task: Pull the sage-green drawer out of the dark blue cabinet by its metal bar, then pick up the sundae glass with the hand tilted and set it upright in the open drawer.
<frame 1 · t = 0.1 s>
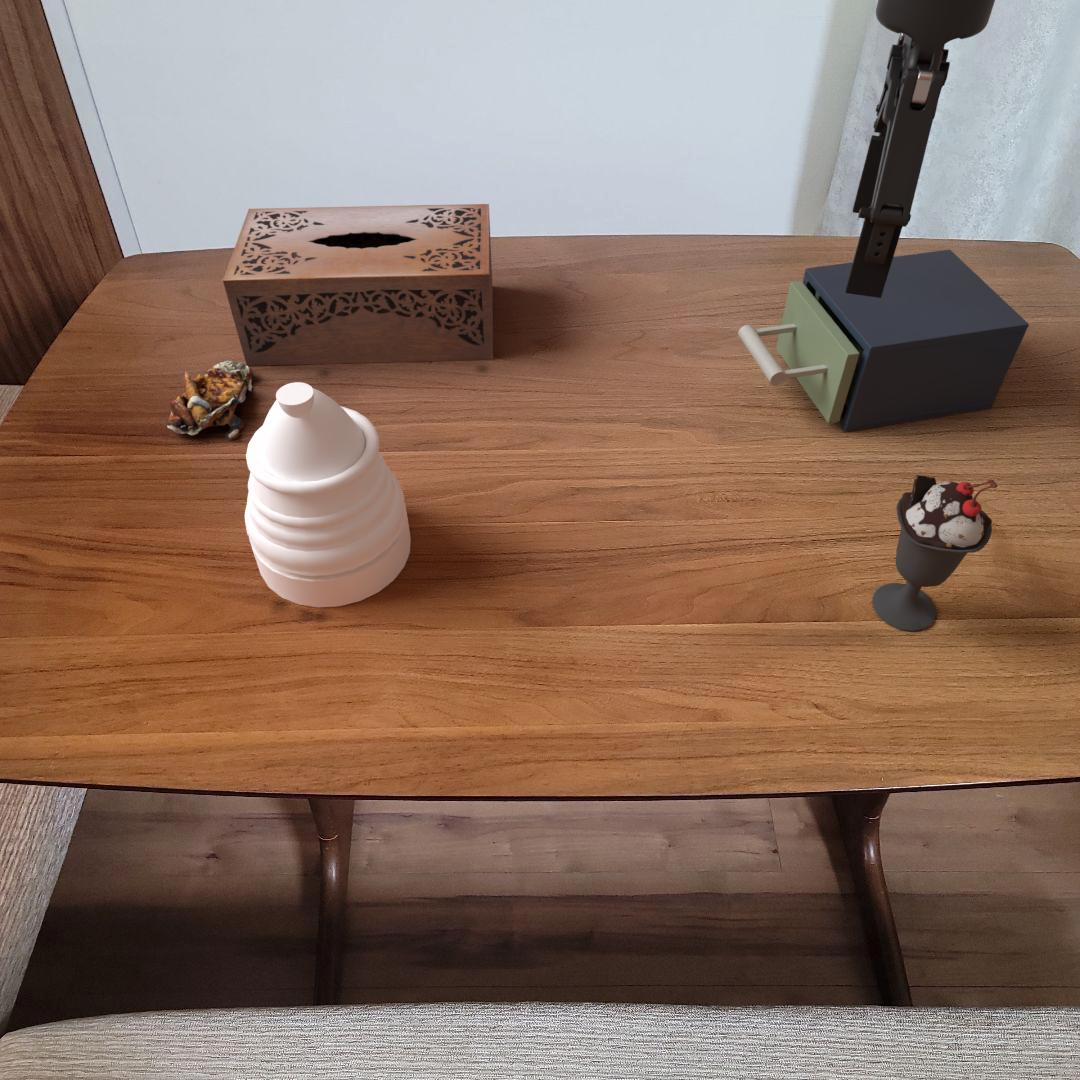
hand: (865, 250, 77), 18 cm above the table, tool pointing down, fingers open, 13 cm apart
cabinet: (885, 378, 95), on the table
tissue box cover: (376, 325, 102), on the table
honey pot: (335, 550, 79), on the table
dish of fried food: (215, 404, 93), on the table
sundae: (903, 608, 74), on the table
drawer: (850, 345, 91), point 5 cm above the table, slide at 0.5 cm
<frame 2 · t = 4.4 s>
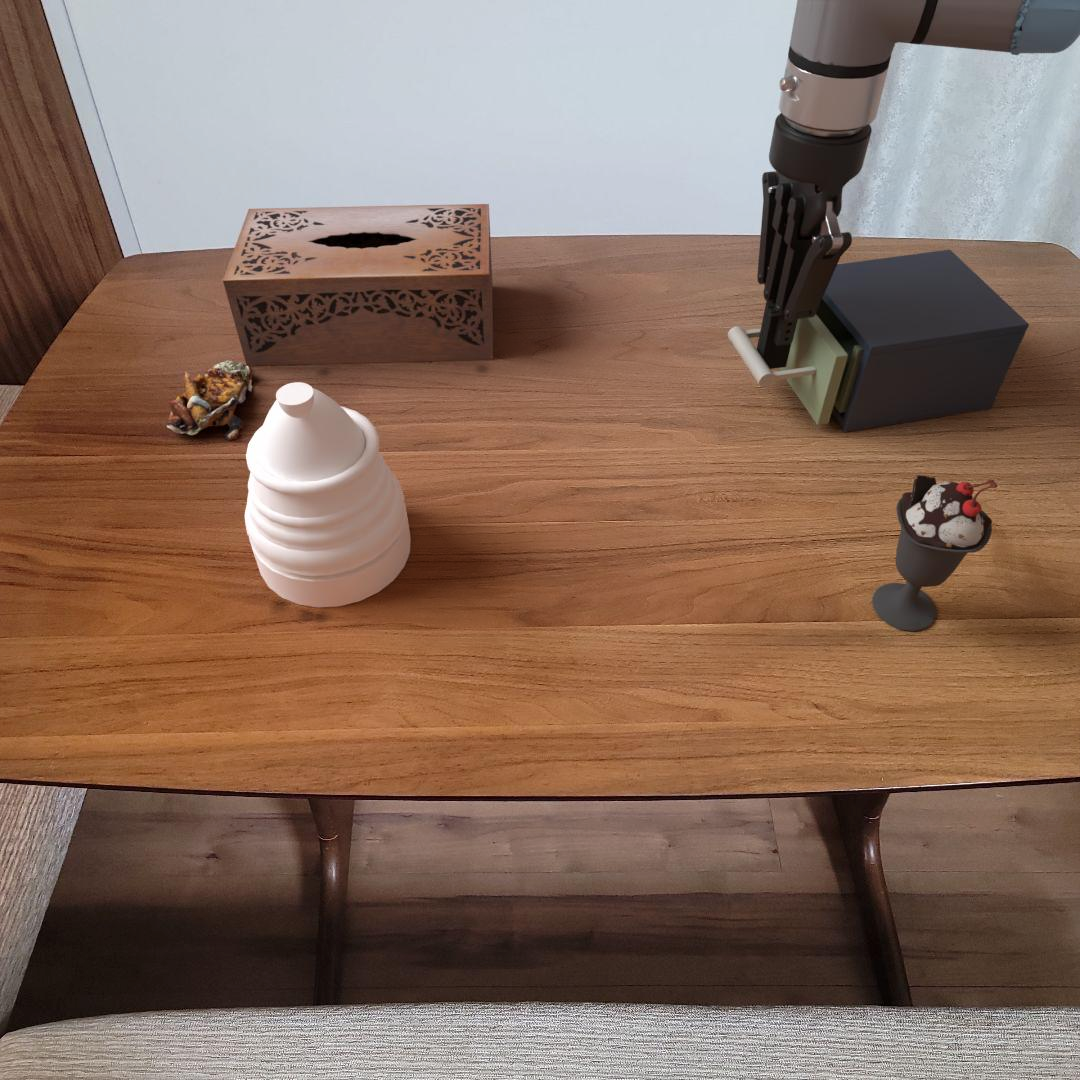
hand: (769, 364, 90), 4 cm above the table, tool pointing down, fingers closed
drawer: (839, 347, 91), point 5 cm above the table, slide at 1.6 cm, touching gripper
everything else where it was.
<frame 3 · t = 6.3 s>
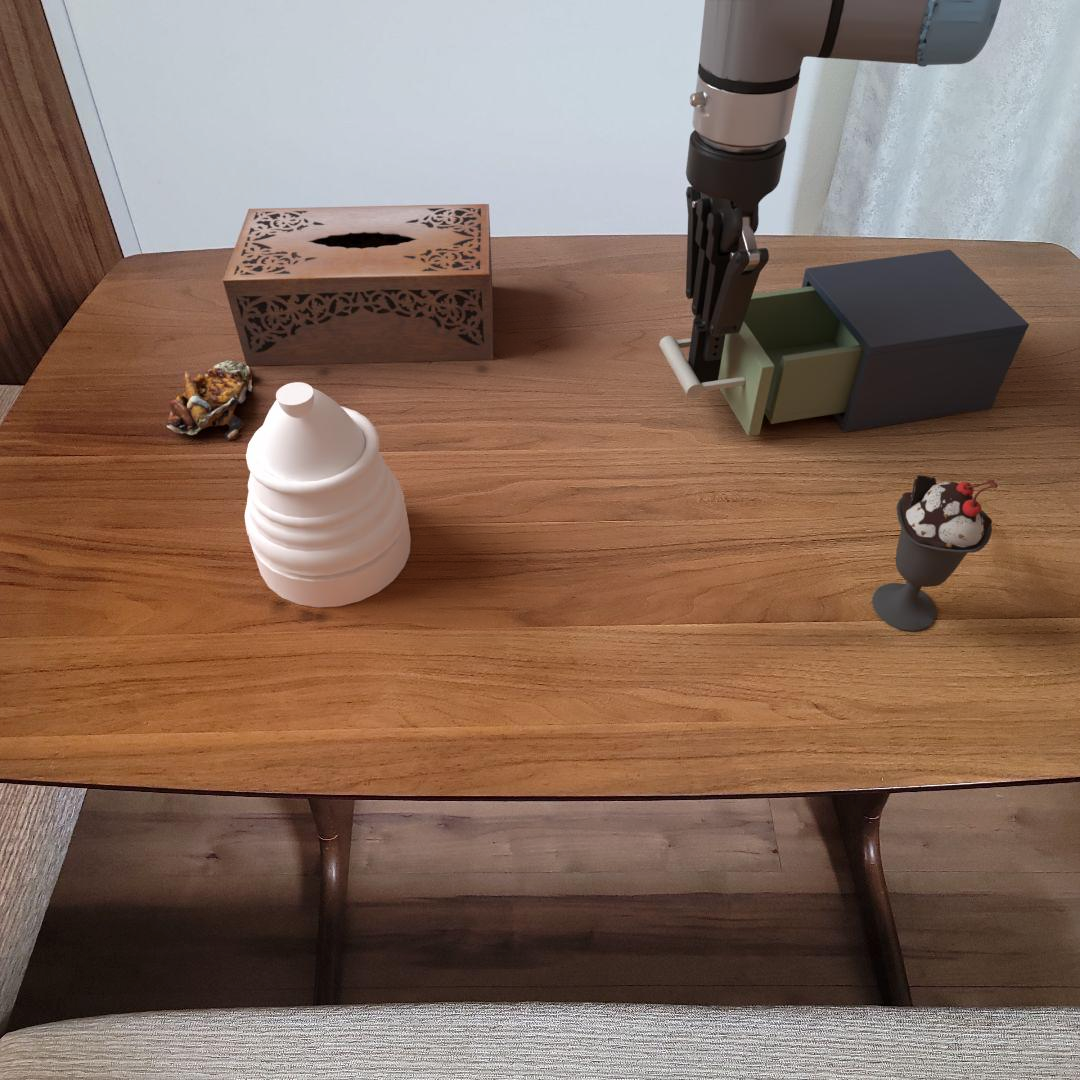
hand: (701, 378, 89), 4 cm above the table, tool pointing down, fingers closed
drawer: (772, 357, 89), point 5 cm above the table, slide at 8.7 cm
everything else where it was.
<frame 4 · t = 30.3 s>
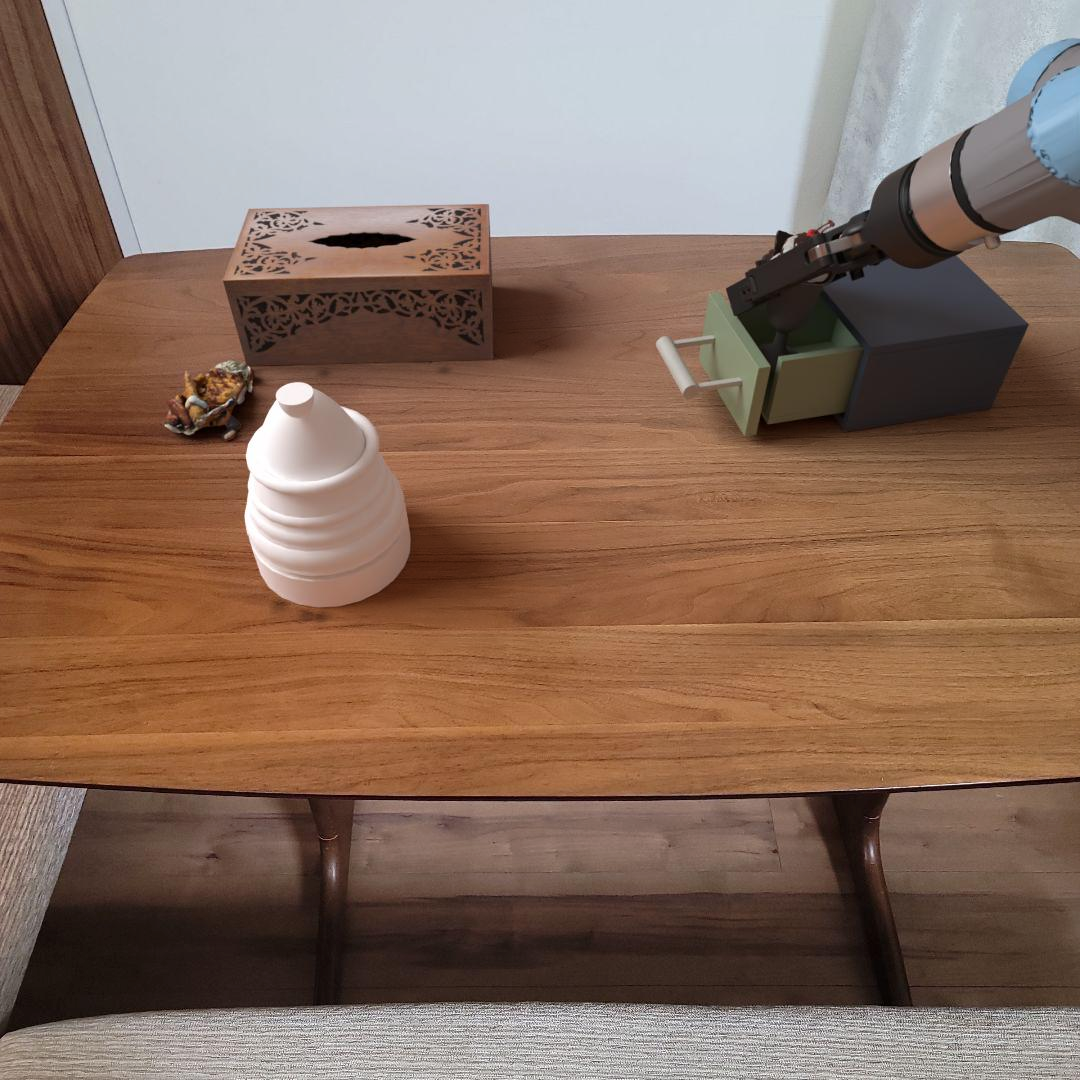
hand: (765, 292, 88), 10 cm above the table, tool tilted 45°, fingers closed on sundae, 7 cm apart
sundae: (776, 361, 90), point 4 cm above the table, touching gripper
drawer: (769, 357, 89), point 5 cm above the table, slide at 9.0 cm, touching gripper
everything else where it was.
when the fingers open (10 cm above the table, at t = 30.8 s): sundae drops 2 cm, resting on drawer.
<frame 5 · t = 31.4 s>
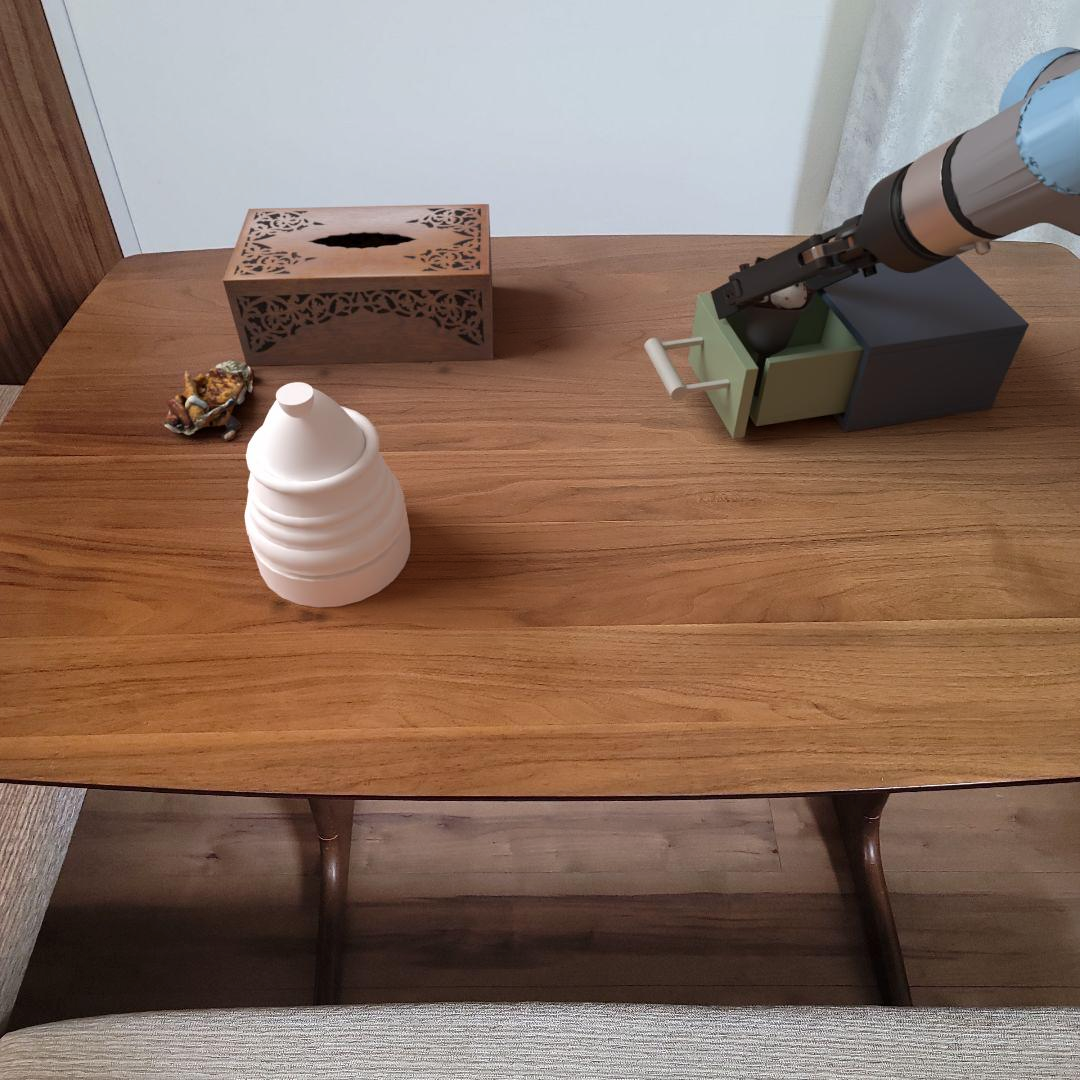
hand: (763, 291, 88), 10 cm above the table, tool tilted 45°, fingers open, 10 cm apart
sundae: (759, 383, 92), point 2 cm above the table, touching drawer
drawer: (757, 359, 89), point 5 cm above the table, slide at 10.2 cm, touching sundae
everything else where it was.
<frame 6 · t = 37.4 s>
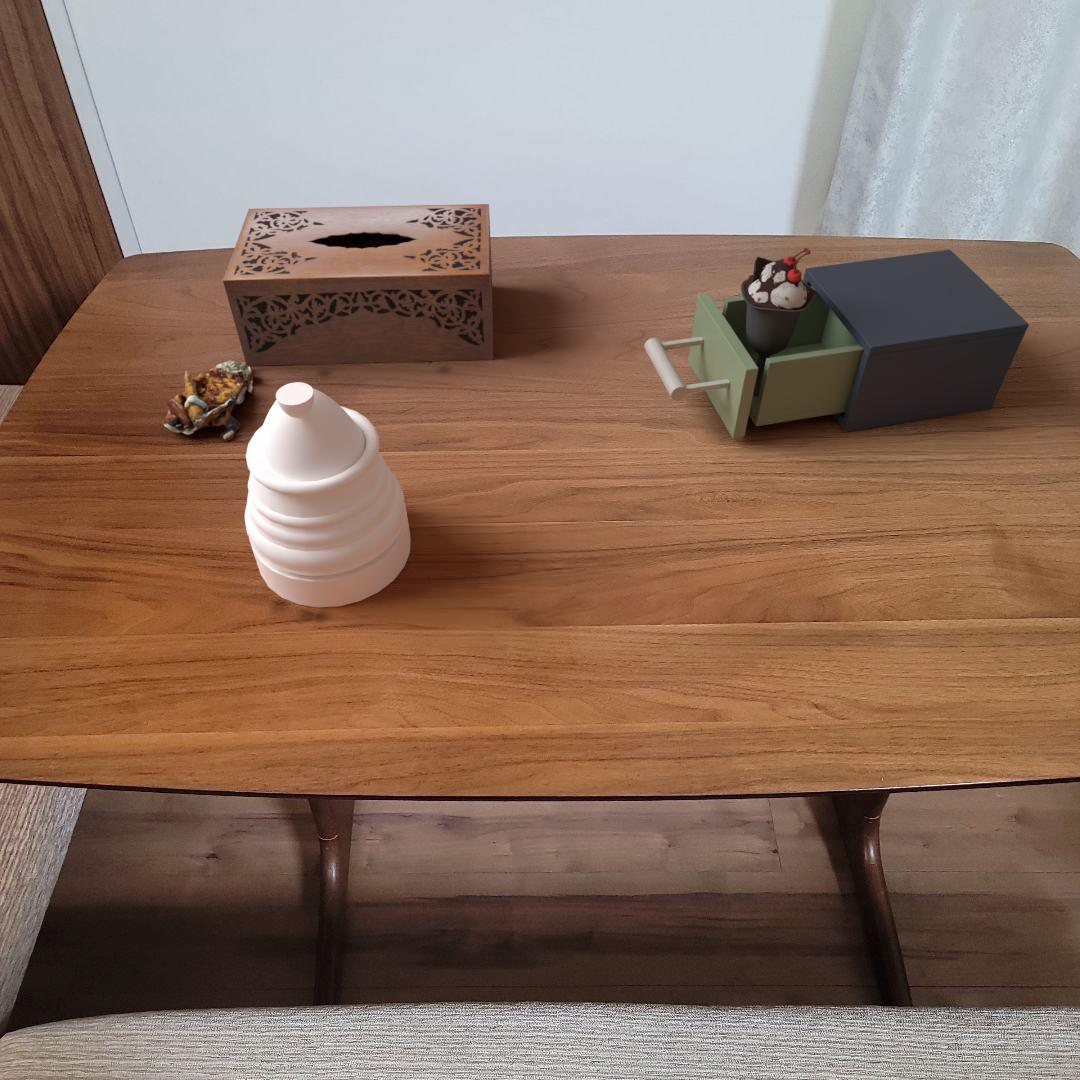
nothing on the table moved.
at the end: drawer slide at 10.2 cm; sundae inside the target area in the drawer (1.4 cm from its centre), point 1.9 cm above the cabinet's base; sundae tilted 0° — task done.
